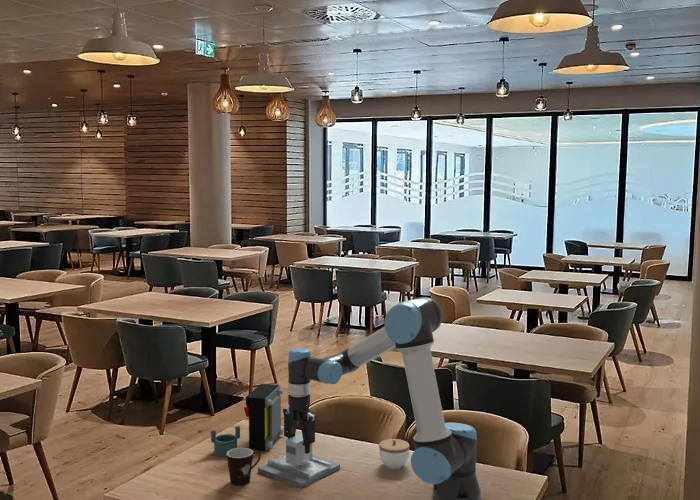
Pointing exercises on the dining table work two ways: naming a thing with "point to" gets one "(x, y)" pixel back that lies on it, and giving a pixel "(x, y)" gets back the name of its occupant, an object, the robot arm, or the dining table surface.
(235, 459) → the coffee mug
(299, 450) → the block
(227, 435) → the bracket
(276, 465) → the din rail
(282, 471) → the mounting board
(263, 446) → the electrical component
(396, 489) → the dining table surface
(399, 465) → the lidded jar
